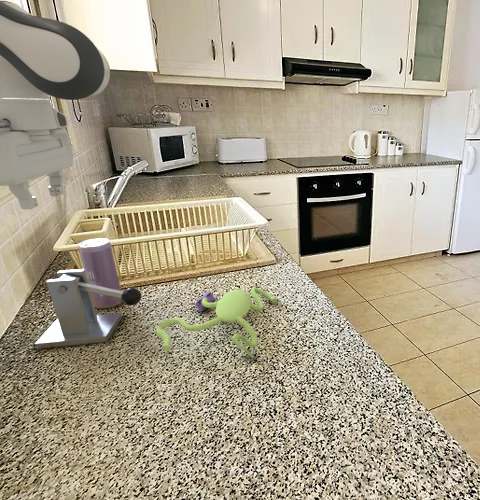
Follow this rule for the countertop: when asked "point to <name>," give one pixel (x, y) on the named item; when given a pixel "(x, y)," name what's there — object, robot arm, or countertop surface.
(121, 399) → the countertop surface
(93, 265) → the beverage can
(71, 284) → the bracket
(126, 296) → the faucet lever
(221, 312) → the figurine
